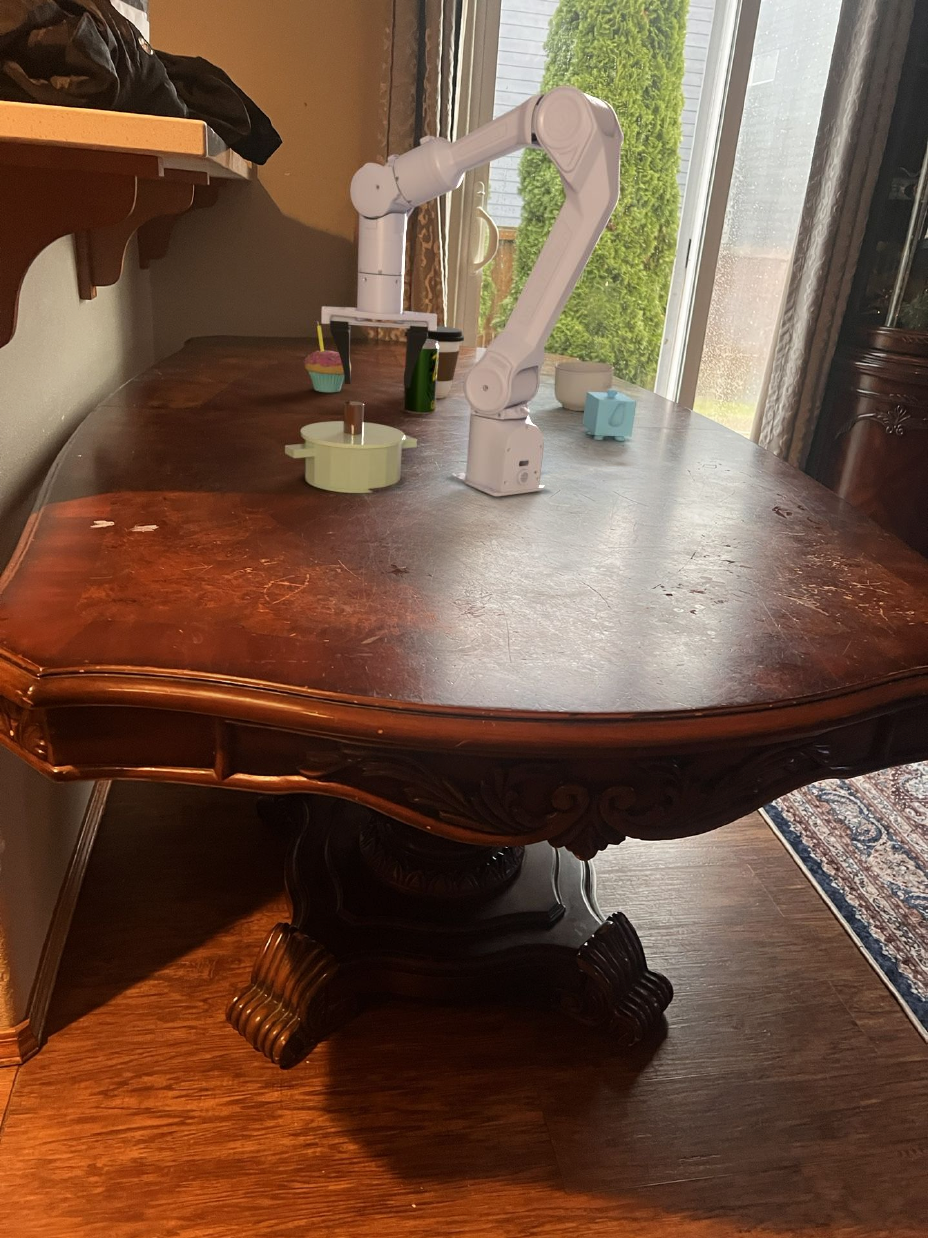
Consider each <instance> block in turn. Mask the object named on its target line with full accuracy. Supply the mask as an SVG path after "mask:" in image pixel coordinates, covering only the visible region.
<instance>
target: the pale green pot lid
mask: <svg viewBox="0 0 928 1238" xmlns="http://www.w3.org/2000/svg"><path fill="white" fill-rule="evenodd" d="M364 413H365V404H364V403H363V402H361V401H356V400H355V401H353V400H350V401H349V400H348V401H345V402H343V420H338V421H337V420H334V421H332V420H331V421H320V422H315V423H310V424H306V425H305V426H302V427H301V428H300V437H301V438H303V439H305V440H307V441H310V442H313V443H316V444H320V445H325V446H331V447H338V448H351V449H375V448H386V447H392V446H396V445H399V444H401V443H403V442H404V441H405V435H406V434H405V433H404V431H402V430H400V429H398V428H395V427H392V426H389V425H385V424H379V423H373V422H365V421H364V420H365V419H364V418H365V417H364Z"/></svg>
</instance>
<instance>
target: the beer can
mask: <svg viewBox="0 0 928 1238" xmlns="http://www.w3.org/2000/svg"><path fill="white" fill-rule="evenodd" d="M437 343H438V341H437V340H433V339H427V340H426V342H425V344H424V346H423V348H422V350H421V352H420V354H419V356H418V358H417V361H416V364H415V366H414V369H413V373H412V377H411V381H410V387H409V388H408V387H404V386H403V406H402V407H403V411H404V412H407V413H410V414H411V413H412V414H420V415H427V414H428V415H429V414H434V413H435V412H436V402H437V398H436V386H437V369H438V352H439V347H438V344H437ZM406 348H407V344H406V345H405V349H406ZM404 361H405V362H404V364H406V360H404Z"/></svg>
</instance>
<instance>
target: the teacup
mask: <svg viewBox="0 0 928 1238" xmlns="http://www.w3.org/2000/svg"><path fill="white" fill-rule="evenodd" d="M614 372H615V367H614V366H613V365H612V364H608V363H603V362H598V361H597V362H596V361H584V360H582V361H581V360H570V361H561V362H558V363H555V364H554V396H555V399H556V401H558V403H560V405H561V406H562V407H563V408H564V409H566V410H570V411H577V412H584V409H585V401H586V394H587V392H604V393H607V389H613V380H614Z"/></svg>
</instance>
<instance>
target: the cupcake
mask: <svg viewBox="0 0 928 1238" xmlns="http://www.w3.org/2000/svg"><path fill="white" fill-rule="evenodd" d="M316 323H317V326H316V328H317V337H318V345H319V350H316V351H314V352H312V353H310V354H308V355H307V357H305V359H304V360H303V365H304V369H305V370H307V372H308V374H309V377H310V379H311V382H312V387H313V389H314V391H316V392H320V393H339V392H340V391H342V390H341V389H342V386H343V384H344V381H345V377H344V371H343V366H342V362H341V358H340V355H339V352H338V351H334V350H326V349H324V341H323V334H322V333H323V332H322V326H321V325H320V322H319V321H318V320H317V321H316ZM350 371H352V364H351V361H350Z"/></svg>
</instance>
